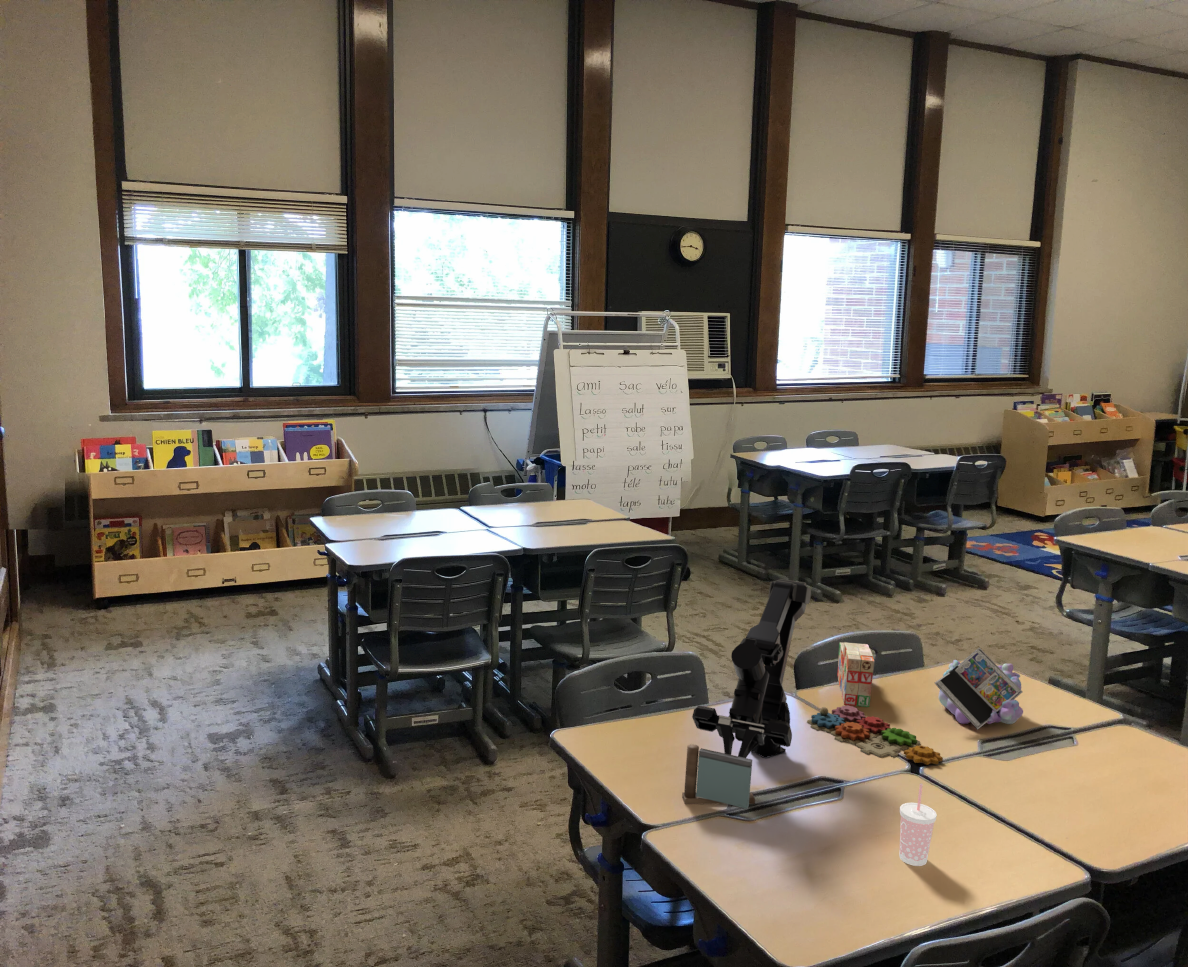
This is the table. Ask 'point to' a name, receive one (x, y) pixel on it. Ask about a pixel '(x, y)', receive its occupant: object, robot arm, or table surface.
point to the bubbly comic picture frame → (980, 691)
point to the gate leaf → (724, 778)
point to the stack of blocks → (855, 673)
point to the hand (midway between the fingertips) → (732, 767)
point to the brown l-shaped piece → (691, 780)
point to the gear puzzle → (871, 734)
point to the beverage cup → (916, 831)
